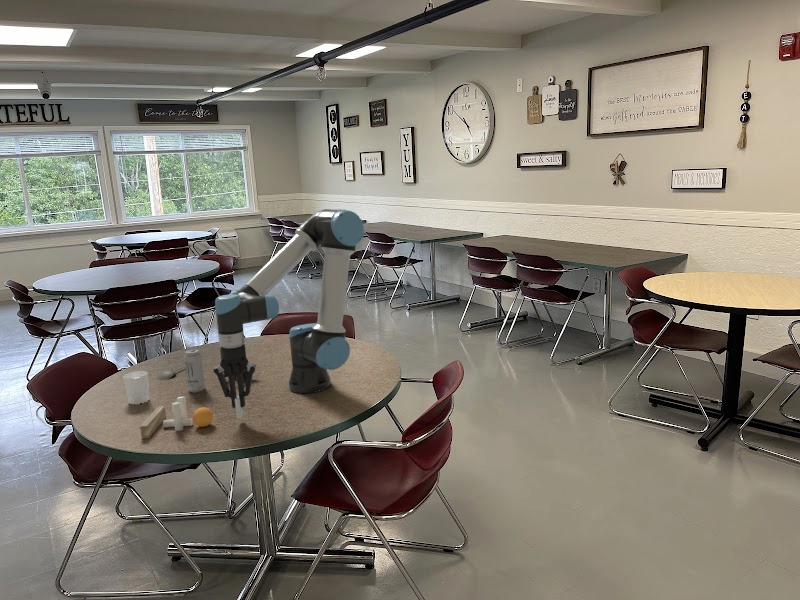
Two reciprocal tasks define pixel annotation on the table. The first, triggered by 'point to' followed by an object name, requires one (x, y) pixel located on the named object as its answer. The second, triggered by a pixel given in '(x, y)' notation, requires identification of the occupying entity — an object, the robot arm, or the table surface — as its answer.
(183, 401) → the pin
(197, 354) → the energy drink can
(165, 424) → the front pin
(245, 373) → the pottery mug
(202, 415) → the ball
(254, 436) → the table surface
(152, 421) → the back wall
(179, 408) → the pin
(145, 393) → the white cup
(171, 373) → the soupspoon
